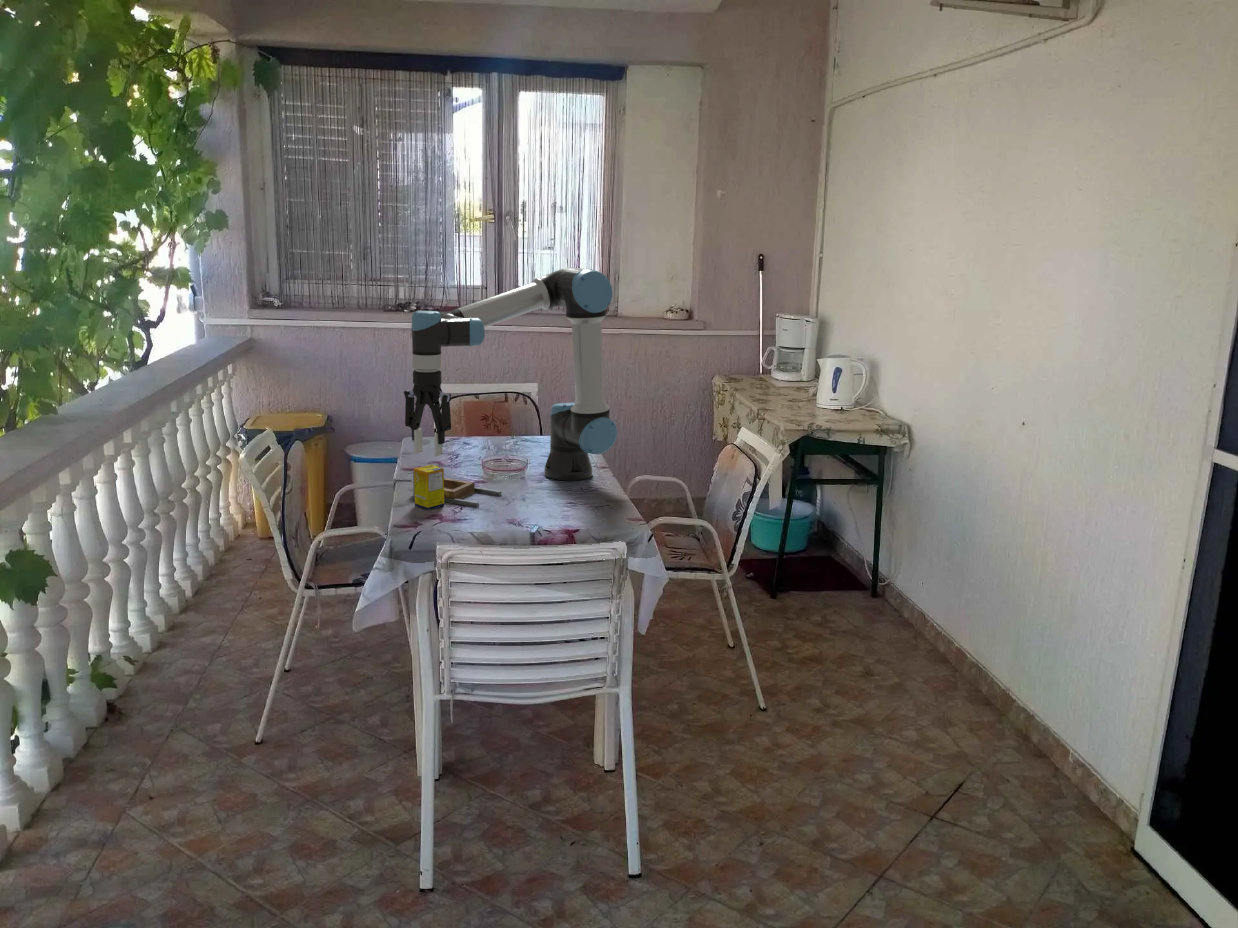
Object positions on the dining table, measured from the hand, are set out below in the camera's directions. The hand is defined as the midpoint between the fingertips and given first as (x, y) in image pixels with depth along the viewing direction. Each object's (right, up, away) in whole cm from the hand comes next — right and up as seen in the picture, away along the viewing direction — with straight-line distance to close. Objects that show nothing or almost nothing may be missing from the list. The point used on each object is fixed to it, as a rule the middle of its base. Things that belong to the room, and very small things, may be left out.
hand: (428, 453), depth 253 cm
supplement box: (-1, -15, +4) cm, 15 cm away
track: (+5, -12, +14) cm, 19 cm away
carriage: (+3, -12, +15) cm, 19 cm away
